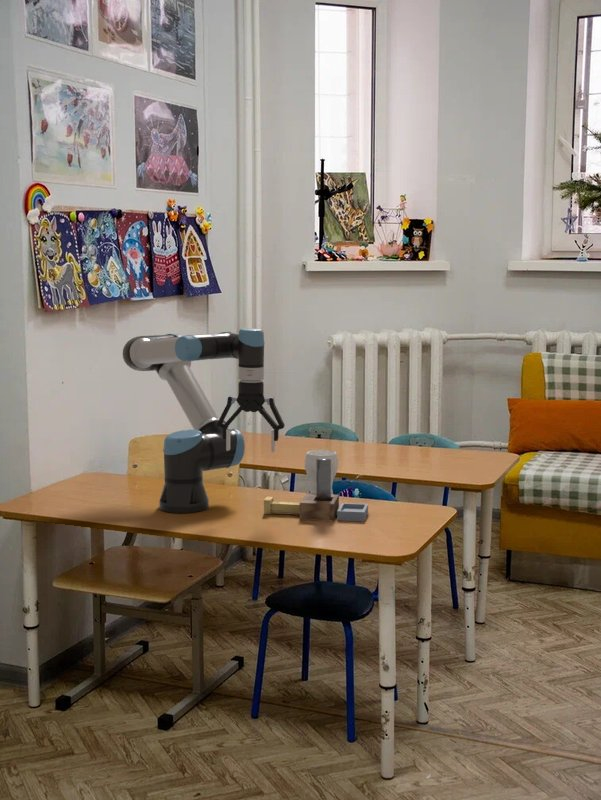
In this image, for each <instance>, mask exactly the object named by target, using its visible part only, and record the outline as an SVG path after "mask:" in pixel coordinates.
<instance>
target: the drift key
mask: <svg viewBox="0 0 601 800" xmlns="http://www.w3.org/2000/svg"><path fill="white" fill-rule="evenodd" d="M271 514H274V515H275V514H277V515H299V516H300V502H293V501H274V496H266V497H265V498H264V499H263V515H271Z"/></svg>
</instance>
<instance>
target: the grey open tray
mask: <svg viewBox="0 0 601 800" xmlns="http://www.w3.org/2000/svg"><path fill="white" fill-rule="evenodd" d="M367 513H368V514H369V504H368V503H351V502H342V503H341V504H339V509H338V511H337V515H336V516H337V518H336V520H337V521H348V522H349V521H351V522H365V520H366V519H367V516H368V514H367ZM365 518H366V519H365Z"/></svg>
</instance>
